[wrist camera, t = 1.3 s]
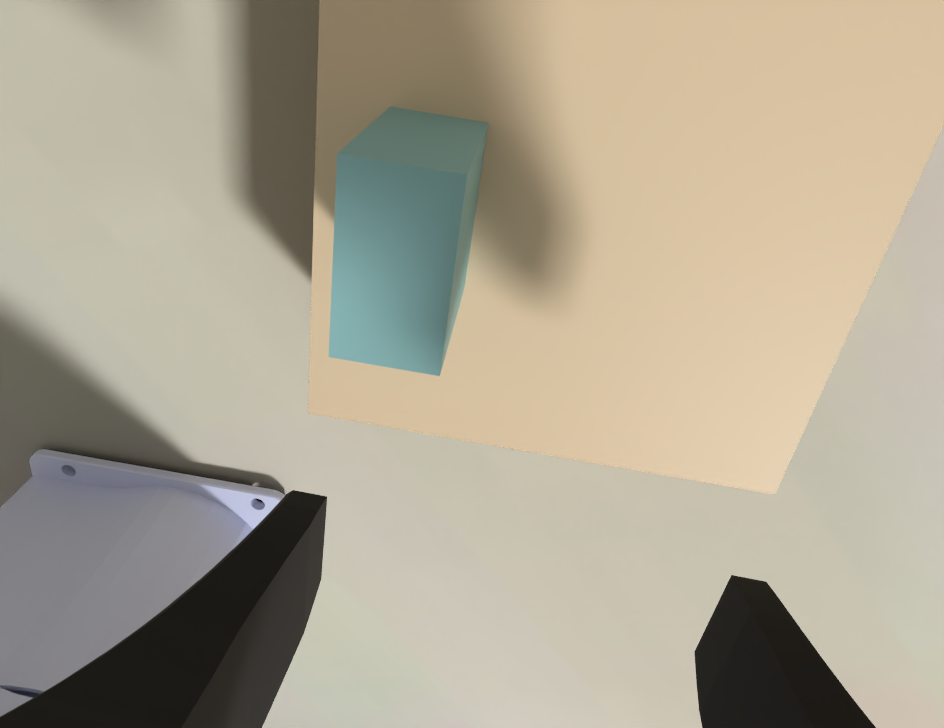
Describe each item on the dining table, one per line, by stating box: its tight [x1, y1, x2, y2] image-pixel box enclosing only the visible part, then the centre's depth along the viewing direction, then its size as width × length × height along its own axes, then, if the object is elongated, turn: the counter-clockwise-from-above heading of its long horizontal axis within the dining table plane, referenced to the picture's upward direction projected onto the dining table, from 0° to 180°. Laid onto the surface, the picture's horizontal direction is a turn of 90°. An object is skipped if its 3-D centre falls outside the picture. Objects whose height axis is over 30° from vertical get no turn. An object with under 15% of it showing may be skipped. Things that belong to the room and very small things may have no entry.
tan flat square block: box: [308, 0, 944, 495], centre depth 14 cm, size 12×12×5 cm
